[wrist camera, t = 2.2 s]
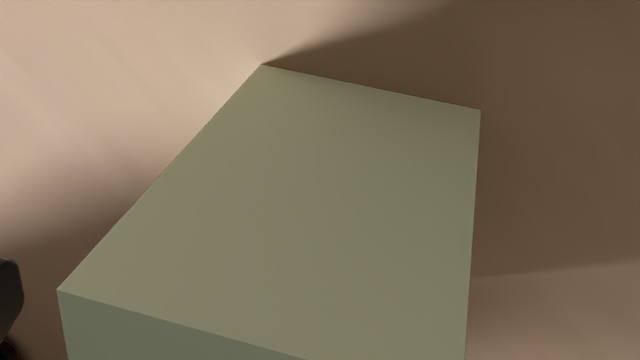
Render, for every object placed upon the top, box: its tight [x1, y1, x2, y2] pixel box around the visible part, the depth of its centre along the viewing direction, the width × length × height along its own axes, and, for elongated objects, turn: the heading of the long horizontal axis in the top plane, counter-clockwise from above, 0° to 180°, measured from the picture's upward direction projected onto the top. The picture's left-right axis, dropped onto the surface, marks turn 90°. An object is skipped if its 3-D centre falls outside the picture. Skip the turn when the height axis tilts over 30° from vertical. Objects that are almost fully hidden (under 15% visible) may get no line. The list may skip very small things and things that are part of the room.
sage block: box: [56, 64, 481, 360], centre depth 11 cm, size 4×4×7 cm
